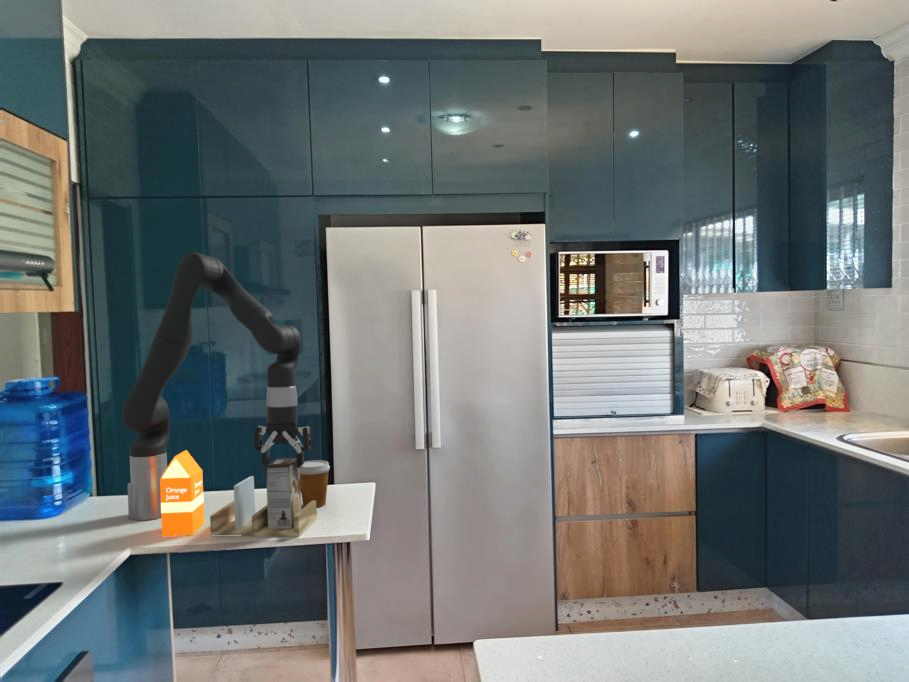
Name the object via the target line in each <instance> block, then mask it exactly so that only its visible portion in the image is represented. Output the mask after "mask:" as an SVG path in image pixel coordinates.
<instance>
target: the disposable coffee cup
mask: <svg viewBox="0 0 909 682" xmlns="http://www.w3.org/2000/svg"><path fill="white" fill-rule="evenodd" d="M329 464H330V463H329V461H326V460H321V459H318V460H307V461H304V464H303V465H302V467H300V481H301V502H302V506H303V508H304V507H305V506H306V505H307V504H308V503H310V502H311V501H312V500H315V501H316V507H318V508H321V507H320V506H322V507H324V506H326V503H327V502H326V501H327V491H328V480H329V471H330V469H331V466H330V465H329ZM323 505H324V506H323Z"/></svg>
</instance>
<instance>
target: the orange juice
mask: <svg viewBox="0 0 909 682" xmlns="http://www.w3.org/2000/svg"><path fill="white" fill-rule="evenodd" d="M203 482H204V481H203V469H202V468H201V467H200V466H199V463H197V462H196V461H195V459H194V458H193V456H191V454H190V453H189V451H188V449H186V450H184V451H181V452H180V453H179V454H176V455H174V457H173V459H172V460H171V462H170V463H169V465H167V469H166V471H165V472H164V474H163V475H162V477H161V478H160V490H161V516H162V517H161V537H162V536H170V537H175V536H174V535H191V534H192V535H193V534H194V533H195V532H196V531H197V530H198V529H199V528H200V527H201V526H202V525H203V524H204V525H205V512H204V511H205V509H204V508H205V507H204V506H205V505H204V501H205V500H204V483H203ZM204 525H203V526H204ZM203 526H202V527H203ZM202 527H201V528H202ZM201 528H200V529H201ZM200 529H199V530H200ZM199 530H198V531H199ZM198 531H197V532H198ZM197 532H196V533H197ZM196 533H195V534H196ZM195 534H194V535H195ZM194 535H193V536H194Z"/></svg>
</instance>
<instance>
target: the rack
mask: <svg viewBox="0 0 909 682" xmlns="http://www.w3.org/2000/svg"><path fill="white" fill-rule="evenodd" d="M317 511H318V510H317V508H316V501H315V500H312V501H311V502H310V503H308V504H307V505H306V506H305V507H304V506H303V508H302V510H301V511H300V512H298V513H297V514H296V515H295V516H294V527H293V528H292V529H268V510H267V504H266V505H265V506H263V507H262V508H261V509H259V510H258V511H257V512H255V514H254V515H253V516H252V520H251V521H250V522H248V523H247V524H246V525H244V526H243V527H242V528H241V529H239V530H235V507H234V500H232V501H231V502H230V503H227V505H225V506H224V507H222V508H220V509H218V510H217V511H216V512H214V513H213V514H210V516H209V519H210V523H209V525H210V536H211V535H241V536H240V537H271V536H276V537H277V538H278V537H281V538H282V537H287V538H288V537H289V538H291V537H292V538H293V537H295V538H298V537H301V536H302V534H303V533H304V532H306V531H307V530H308V529H309V528H310V527H311V526H312V525H313V523H314V522H316V521H317V519H318V514H317V513H318V512H317Z"/></svg>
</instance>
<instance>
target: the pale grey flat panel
mask: <svg viewBox="0 0 909 682" xmlns="http://www.w3.org/2000/svg"><path fill="white" fill-rule="evenodd" d="M255 497H256V496H255V476H254V475H250V476H248V477H246V478H245V479H242V480H241V481H240V482H238V483H237V484H235V485H234V486H233V499H234V500H233V501H234V507H235V530H239V529H241V528H242V527H243V526H244V525H246V524H247V523H248V522H250V521H251V520H252V516H253V515H254V514H255V513H256V503H255Z"/></svg>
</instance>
